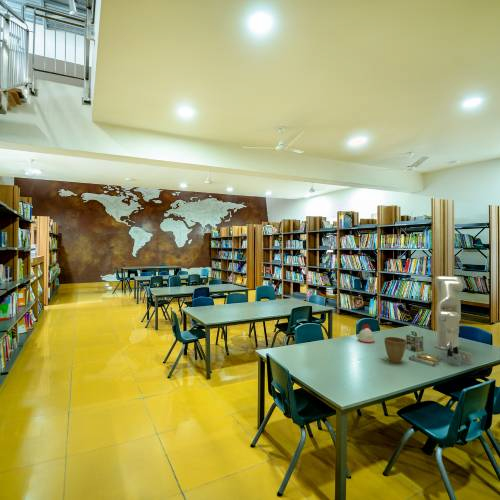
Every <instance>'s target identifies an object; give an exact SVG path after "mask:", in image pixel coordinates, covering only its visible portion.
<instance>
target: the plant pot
mask: <svg viewBox="0 0 500 500" xmlns="http://www.w3.org/2000/svg"><path fill="white" fill-rule="evenodd" d="M383 339H384V346H385V352H386V354H387V357H388V360H389V362H391V363H395V364H400V363H401V361H402V359H403V357H404V354H405V352H406V348H407V347H406V342H407V341H406V338H402V337H397V336H386V337H383Z"/></svg>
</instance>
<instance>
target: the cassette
mask: <svg viewBox="0 0 500 500" xmlns="http://www.w3.org/2000/svg"><path fill="white" fill-rule="evenodd" d="M458 354H459V355H461V363H465V364H467V365H471V366H472V365H473V354H472V353H470V352H468V351H464V350H460V349H458Z"/></svg>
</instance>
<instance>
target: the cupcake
mask: <svg viewBox="0 0 500 500" xmlns="http://www.w3.org/2000/svg"><path fill="white" fill-rule="evenodd" d="M361 327H362V329H361V330H360V331H359V332H358V333H359V334H358V336H357V341H358V342H359V343H362V344H369V345H371V344H374V343H376V342H375V341H376V340H375V336H374V333H373V331H372V330H371V326H370V325H368V324H366V323H365V324H363V326H361Z"/></svg>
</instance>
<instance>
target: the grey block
mask: <svg viewBox="0 0 500 500" xmlns="http://www.w3.org/2000/svg"><path fill="white" fill-rule="evenodd" d="M443 362H444V363H448V364H451V365H456V366H459V367H460V366H461V365H462V362H461V355H459V354H455V353H453V356H452V357H451V356H447V351H444V352H443Z"/></svg>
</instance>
